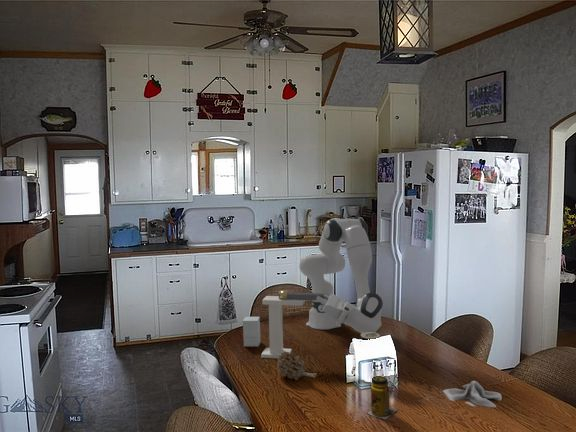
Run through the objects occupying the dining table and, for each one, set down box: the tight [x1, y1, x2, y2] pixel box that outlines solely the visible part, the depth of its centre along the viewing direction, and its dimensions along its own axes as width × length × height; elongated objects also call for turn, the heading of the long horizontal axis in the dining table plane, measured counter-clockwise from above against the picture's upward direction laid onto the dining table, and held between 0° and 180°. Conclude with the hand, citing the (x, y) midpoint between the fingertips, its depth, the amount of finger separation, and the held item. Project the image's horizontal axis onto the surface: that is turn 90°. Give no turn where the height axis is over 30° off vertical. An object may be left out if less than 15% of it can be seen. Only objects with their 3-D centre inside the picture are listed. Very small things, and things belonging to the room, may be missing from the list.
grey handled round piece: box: [276, 352, 318, 381], centre depth 199 cm, size 22×10×10 cm, turn 47°
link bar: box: [278, 289, 324, 301], centre depth 224 cm, size 4×20×3 cm, turn 78°
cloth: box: [442, 380, 503, 408], centre depth 181 cm, size 22×19×6 cm
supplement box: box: [242, 316, 262, 347], centre depth 243 cm, size 7×7×13 cm
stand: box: [260, 295, 306, 359], centre depth 227 cm, size 9×19×26 cm, turn 78°
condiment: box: [366, 375, 398, 420], centre depth 171 cm, size 7×8×12 cm
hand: (317, 295), depth 222 cm, fingers closed on link bar, 3 cm apart
